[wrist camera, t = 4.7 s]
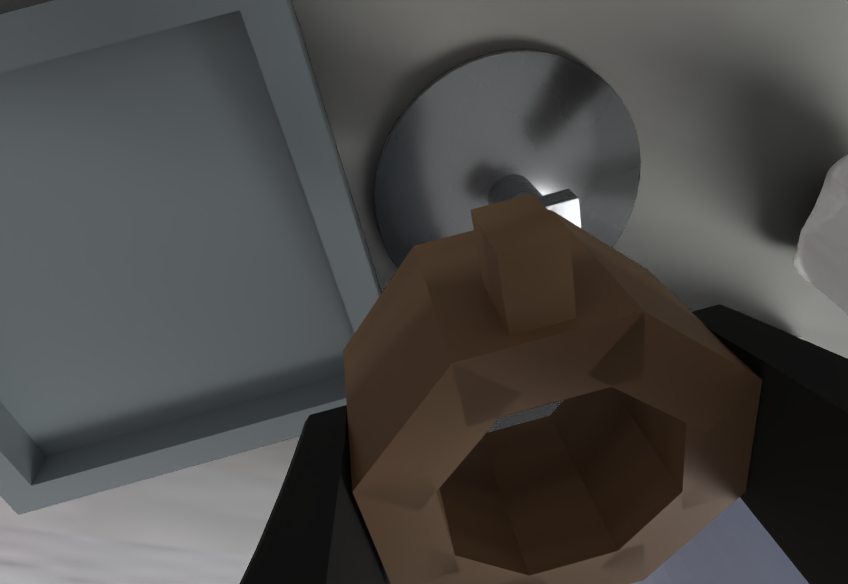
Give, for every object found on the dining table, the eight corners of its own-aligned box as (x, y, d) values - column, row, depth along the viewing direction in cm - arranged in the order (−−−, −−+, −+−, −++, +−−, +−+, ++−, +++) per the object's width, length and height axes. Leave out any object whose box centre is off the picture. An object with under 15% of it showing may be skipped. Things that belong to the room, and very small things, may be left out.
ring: (648, 115, 8) (791, 186, 6) (646, 460, 12) (730, 590, 10) (291, 207, 8) (281, 320, 6) (405, 526, 12) (429, 676, 10)
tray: (405, 369, 20) (412, 404, 18) (41, 471, 20) (18, 514, 18) (274, -54, 13) (268, -56, 12) (-286, 90, 13) (-367, 109, 11)
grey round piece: (636, 269, 19) (717, 349, 15) (409, 332, 19) (432, 429, 15) (630, 15, 15) (740, 36, 11) (339, 93, 15) (347, 141, 11)
